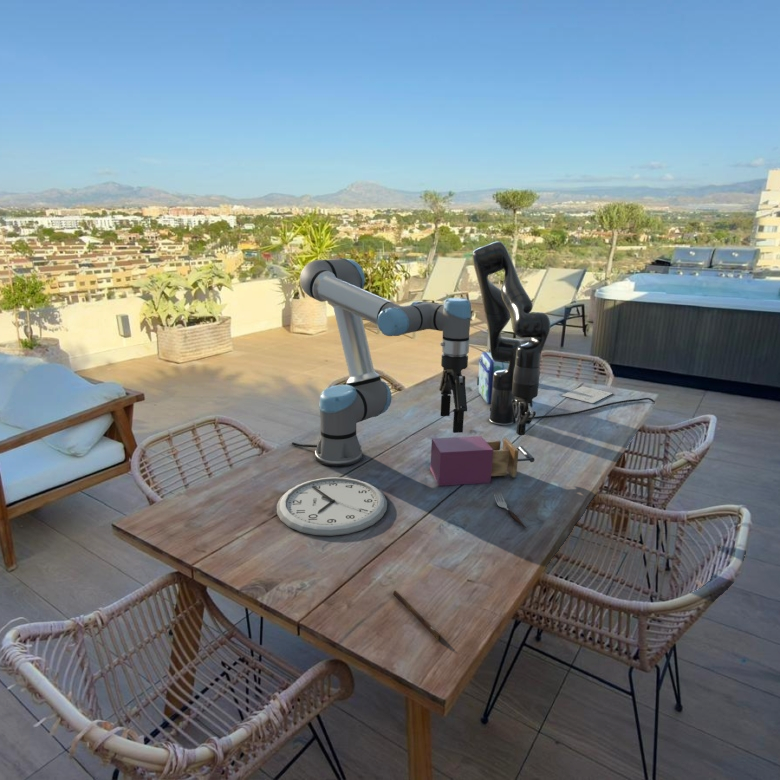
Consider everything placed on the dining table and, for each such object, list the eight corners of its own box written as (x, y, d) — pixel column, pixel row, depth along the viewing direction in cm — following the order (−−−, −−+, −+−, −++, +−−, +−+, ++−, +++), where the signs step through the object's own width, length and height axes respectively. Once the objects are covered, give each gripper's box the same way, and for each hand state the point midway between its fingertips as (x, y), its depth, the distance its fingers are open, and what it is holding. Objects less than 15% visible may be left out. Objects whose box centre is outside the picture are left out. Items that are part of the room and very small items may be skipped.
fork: (520, 530, 132) (521, 523, 132) (492, 499, 147) (492, 493, 146) (529, 529, 133) (530, 522, 132) (500, 498, 147) (501, 492, 147)
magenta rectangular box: (478, 467, 167) (481, 435, 164) (490, 482, 157) (493, 449, 154) (430, 470, 164) (431, 438, 161) (438, 486, 154) (440, 452, 151)
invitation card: (582, 386, 254) (612, 393, 244) (582, 386, 255) (612, 393, 244) (561, 395, 240) (592, 402, 230) (561, 395, 240) (592, 403, 230)
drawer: (520, 462, 169) (523, 437, 166) (533, 476, 160) (536, 449, 157) (460, 466, 165) (461, 440, 163) (469, 480, 156) (471, 453, 154)
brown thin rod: (392, 594, 108) (393, 590, 108) (394, 593, 109) (394, 589, 108) (438, 640, 96) (438, 636, 96) (440, 639, 97) (440, 635, 96)
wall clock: (392, 527, 129) (268, 531, 127) (391, 533, 130) (269, 537, 127) (383, 473, 158) (282, 475, 155) (383, 478, 158) (282, 480, 156)
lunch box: (475, 390, 246) (478, 346, 240) (498, 390, 246) (501, 347, 240) (484, 408, 221) (487, 360, 215) (509, 409, 221) (513, 360, 215)
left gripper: (431, 344, 160) (428, 410, 166) (454, 365, 136) (450, 440, 143) (455, 344, 161) (451, 409, 167) (482, 364, 137) (476, 439, 144)
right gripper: (505, 374, 160) (501, 427, 166) (523, 387, 148) (517, 443, 153) (528, 373, 162) (523, 426, 167) (547, 386, 149) (541, 442, 154)
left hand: (451, 423), depth 155 cm, fingers open, 13 cm apart
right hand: (520, 434), depth 160 cm, fingers closed
